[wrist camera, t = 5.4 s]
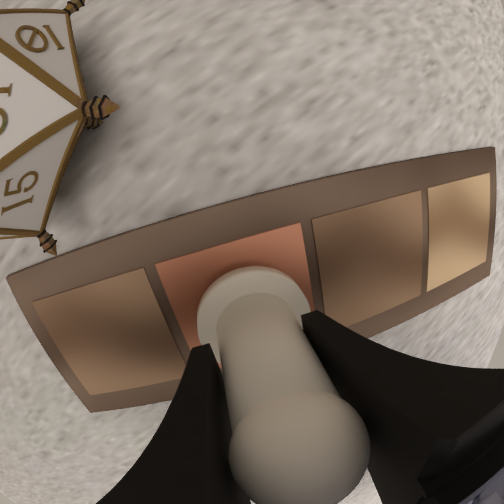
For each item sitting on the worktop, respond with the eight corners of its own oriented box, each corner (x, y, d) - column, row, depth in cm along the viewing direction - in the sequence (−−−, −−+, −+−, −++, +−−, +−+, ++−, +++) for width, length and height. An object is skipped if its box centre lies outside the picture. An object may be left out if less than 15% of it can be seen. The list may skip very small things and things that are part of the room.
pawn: (310, 340, 13) (397, 495, 5) (215, 368, 13) (245, 544, 5) (295, 252, 11) (433, 420, 4) (181, 284, 11) (179, 503, 3)
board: (486, 273, 17) (490, 275, 16) (91, 409, 14) (90, 413, 14) (491, 146, 13) (496, 147, 13) (8, 275, 10) (4, 278, 10)
